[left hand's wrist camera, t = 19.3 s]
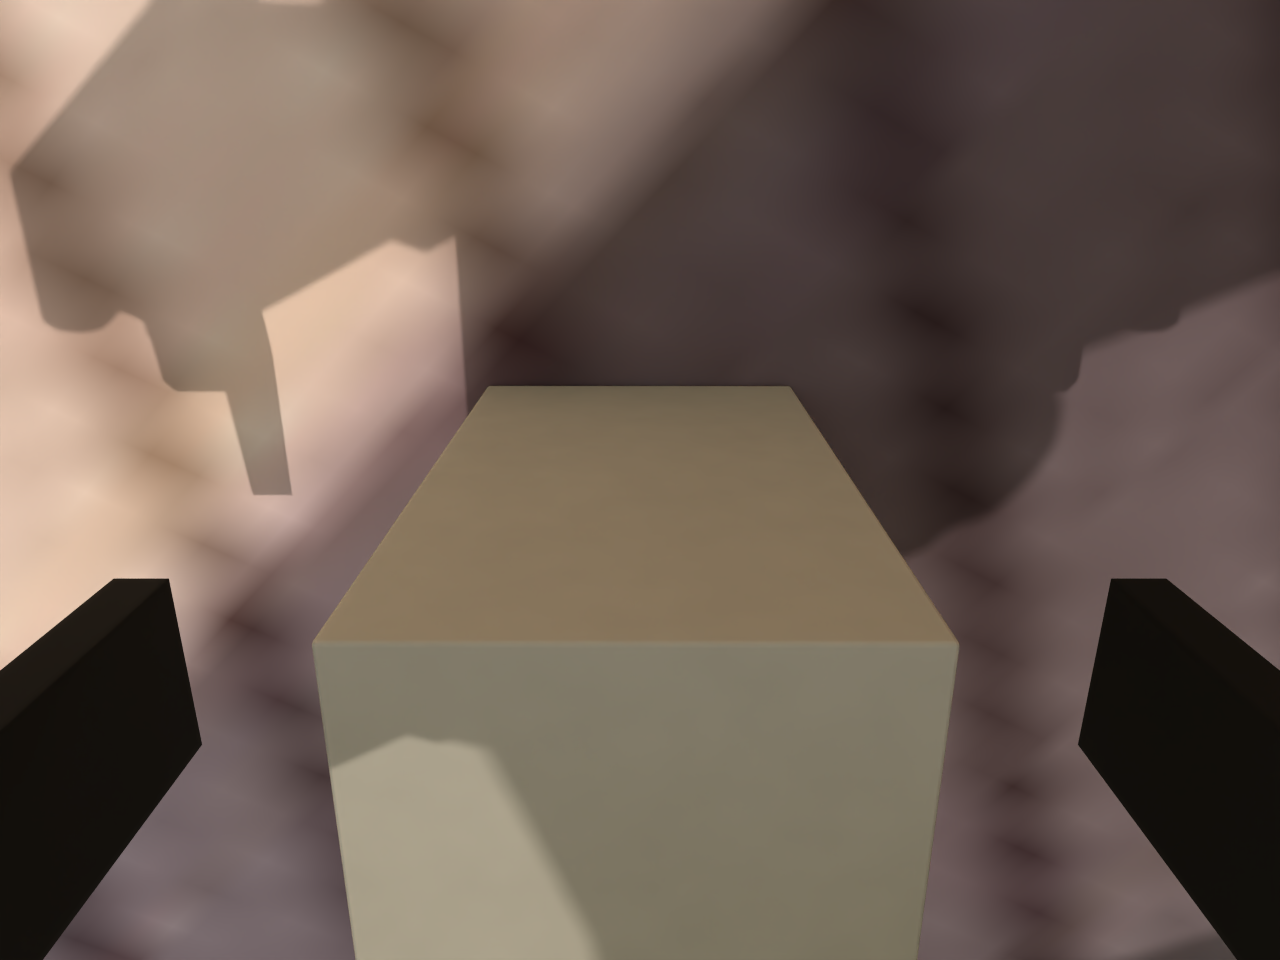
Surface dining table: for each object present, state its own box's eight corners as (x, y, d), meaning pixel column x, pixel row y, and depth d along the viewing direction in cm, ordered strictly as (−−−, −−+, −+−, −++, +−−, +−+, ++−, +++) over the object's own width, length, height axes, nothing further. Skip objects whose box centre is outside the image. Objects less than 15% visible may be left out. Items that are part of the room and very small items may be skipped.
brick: (790, 385, 16) (962, 643, 8) (774, 672, 18) (894, 1138, 10) (487, 384, 16) (308, 641, 8) (503, 672, 18) (378, 1137, 10)
